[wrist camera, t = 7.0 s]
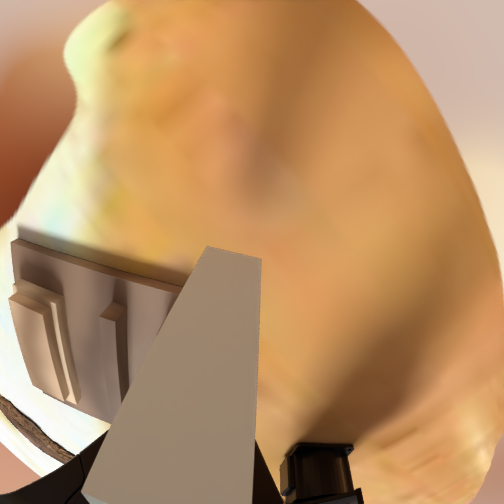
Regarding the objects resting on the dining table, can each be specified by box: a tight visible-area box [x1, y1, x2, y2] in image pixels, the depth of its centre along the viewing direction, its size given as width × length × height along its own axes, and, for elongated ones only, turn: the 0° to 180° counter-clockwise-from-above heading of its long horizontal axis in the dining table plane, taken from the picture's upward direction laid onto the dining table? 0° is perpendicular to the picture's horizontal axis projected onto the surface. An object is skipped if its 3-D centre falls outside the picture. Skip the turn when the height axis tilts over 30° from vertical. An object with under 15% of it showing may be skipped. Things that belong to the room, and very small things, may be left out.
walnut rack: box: [11, 238, 183, 424], centre depth 20 cm, size 18×18×3 cm
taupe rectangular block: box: [81, 246, 262, 504], centre depth 7 cm, size 2×7×9 cm, turn 167°
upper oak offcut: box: [8, 292, 70, 402], centre depth 18 cm, size 4×10×1 cm, turn 167°
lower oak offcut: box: [13, 279, 82, 405], centre depth 20 cm, size 5×12×1 cm, turn 167°
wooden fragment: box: [0, 395, 74, 464], centre depth 30 cm, size 26×11×1 cm, turn 42°
